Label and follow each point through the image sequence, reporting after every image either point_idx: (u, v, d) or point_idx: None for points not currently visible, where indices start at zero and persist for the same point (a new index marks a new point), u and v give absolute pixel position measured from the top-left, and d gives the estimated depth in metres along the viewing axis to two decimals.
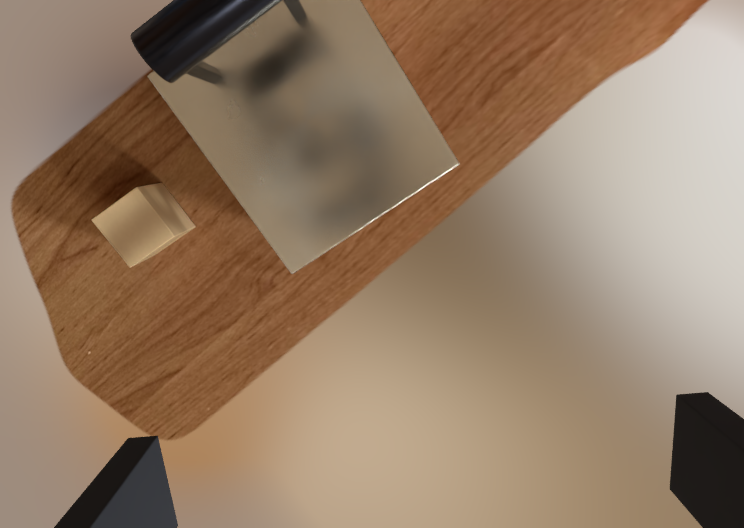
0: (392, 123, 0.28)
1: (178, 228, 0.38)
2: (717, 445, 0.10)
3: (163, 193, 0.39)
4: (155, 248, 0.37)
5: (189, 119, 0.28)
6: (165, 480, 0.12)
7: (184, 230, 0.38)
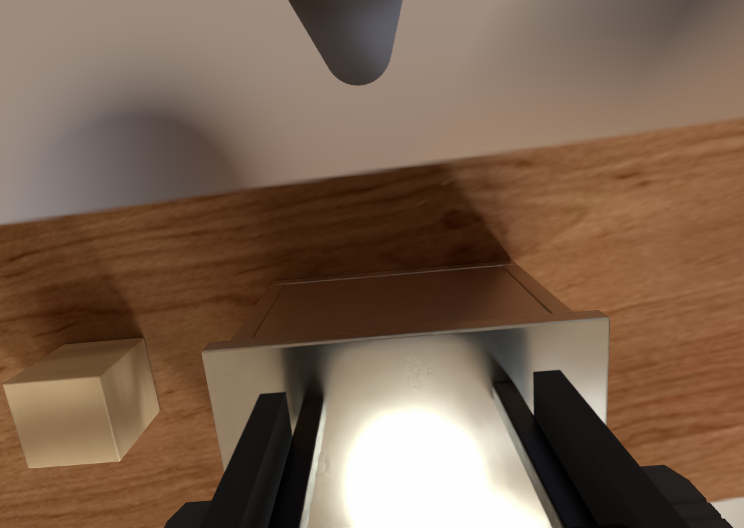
0: None
1: (132, 436, 0.24)
2: (552, 412, 0.12)
3: (137, 364, 0.25)
4: (82, 463, 0.23)
5: (235, 444, 0.16)
6: (290, 432, 0.14)
7: (140, 433, 0.25)
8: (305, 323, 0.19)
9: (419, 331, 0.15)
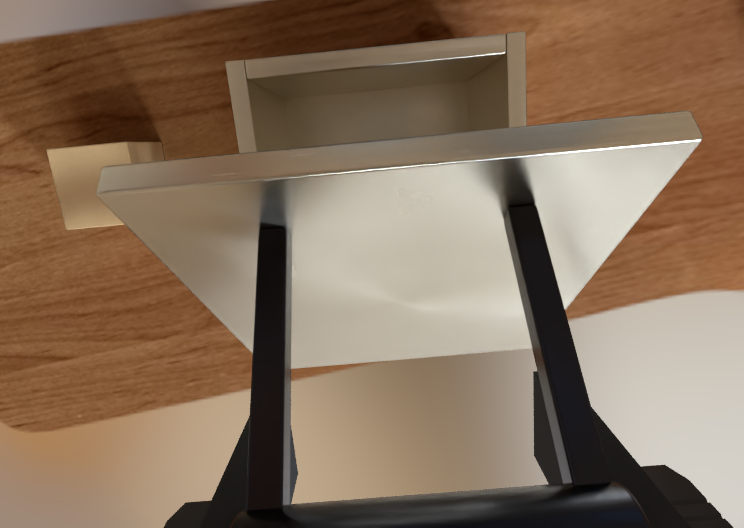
0: (506, 321, 0.19)
1: None
2: None
3: (156, 158, 0.29)
4: (111, 224, 0.27)
5: (184, 264, 0.13)
6: (290, 432, 0.14)
7: None
8: None
9: (418, 156, 0.10)
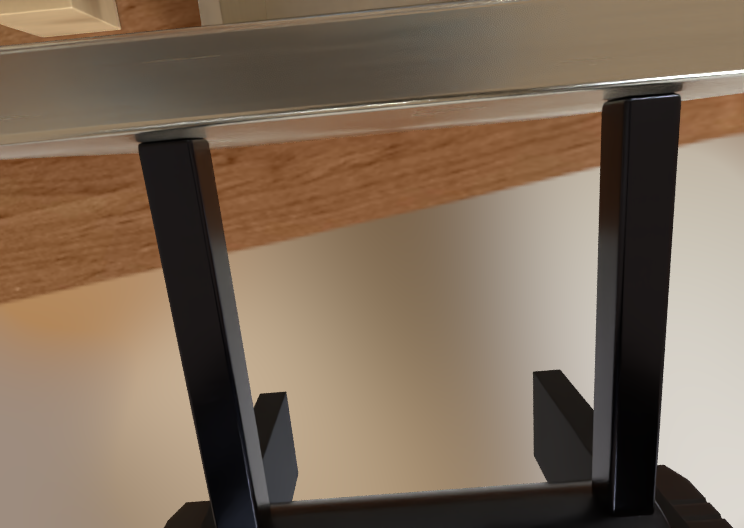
0: None
1: (87, 5, 0.23)
2: (552, 412, 0.12)
3: None
4: (33, 9, 0.22)
5: (27, 157, 0.07)
6: (290, 432, 0.14)
7: (97, 16, 0.24)
8: None
9: (480, 75, 0.04)
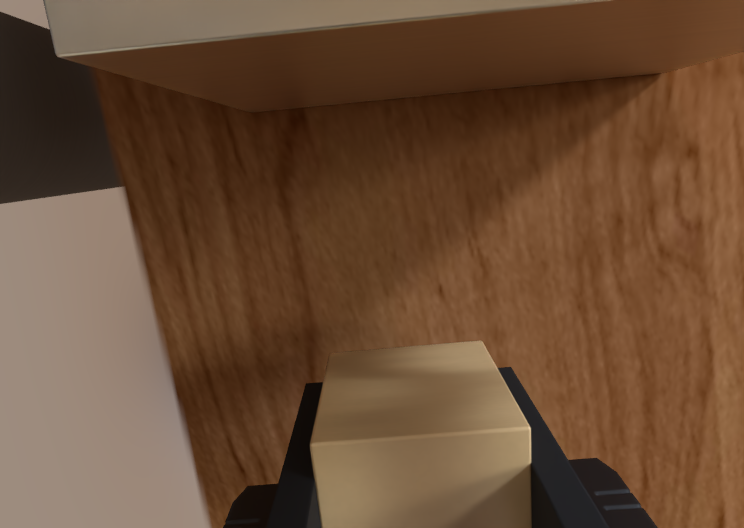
0: None
1: (492, 393, 0.11)
2: None
3: (362, 368, 0.13)
4: (528, 505, 0.10)
5: None
6: None
7: (499, 378, 0.12)
8: None
9: None
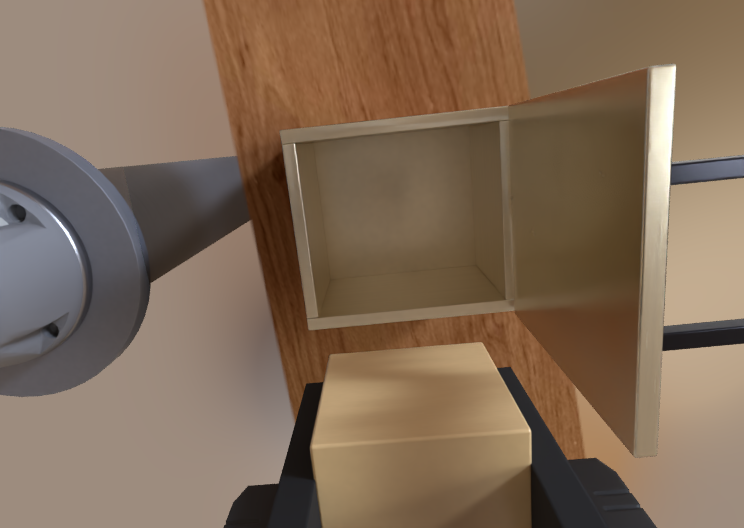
0: None
1: (492, 395, 0.11)
2: None
3: (362, 370, 0.13)
4: (528, 507, 0.10)
5: None
6: None
7: (499, 380, 0.12)
8: None
9: (661, 265, 0.15)
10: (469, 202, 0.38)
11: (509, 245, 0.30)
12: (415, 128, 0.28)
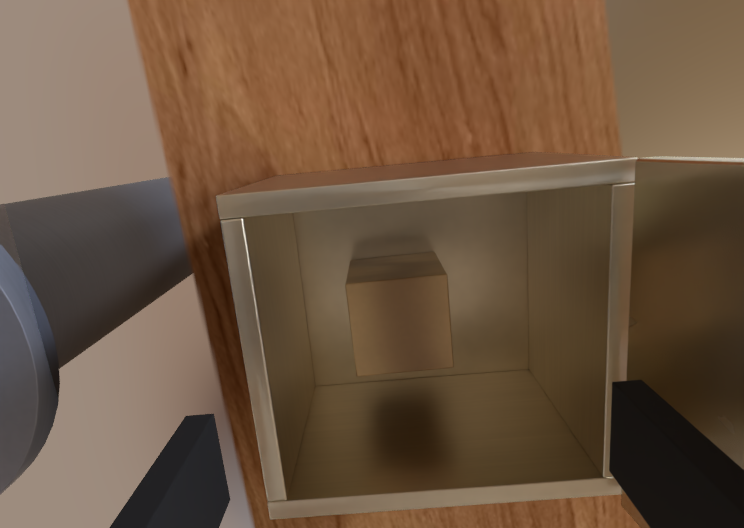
0: None
1: (433, 266, 0.22)
2: (642, 427, 0.11)
3: (368, 263, 0.24)
4: (448, 313, 0.21)
5: None
6: (220, 456, 0.13)
7: (438, 262, 0.23)
8: None
9: None
10: (521, 280, 0.26)
11: None
12: (460, 195, 0.16)
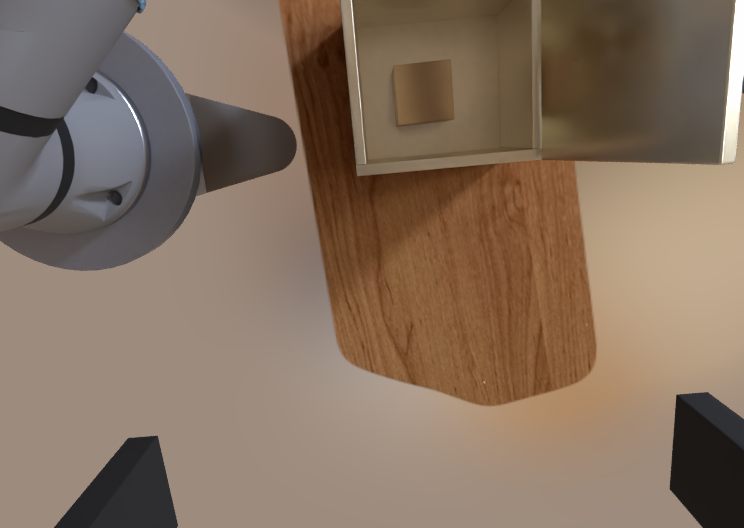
0: None
1: None
2: (718, 445, 0.10)
3: None
4: (451, 83, 0.38)
5: None
6: (165, 481, 0.12)
7: None
8: None
9: None
10: (495, 87, 0.42)
11: (537, 97, 0.34)
12: None
